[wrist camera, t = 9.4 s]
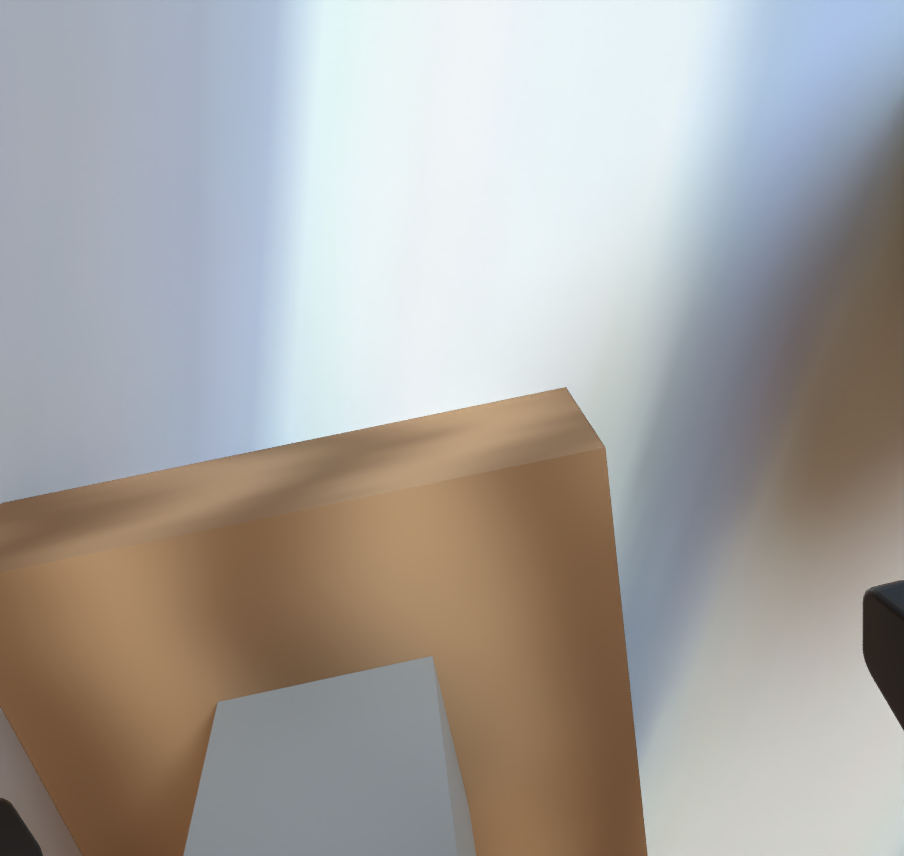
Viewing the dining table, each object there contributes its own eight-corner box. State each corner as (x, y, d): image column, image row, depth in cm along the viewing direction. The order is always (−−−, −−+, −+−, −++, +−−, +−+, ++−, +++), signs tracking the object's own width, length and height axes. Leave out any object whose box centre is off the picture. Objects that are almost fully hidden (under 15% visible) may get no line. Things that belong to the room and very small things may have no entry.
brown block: (560, 379, 20) (605, 447, 17) (609, 771, 26) (650, 884, 23) (11, 491, 20) (-67, 586, 16) (186, 863, 26) (158, 994, 22)
